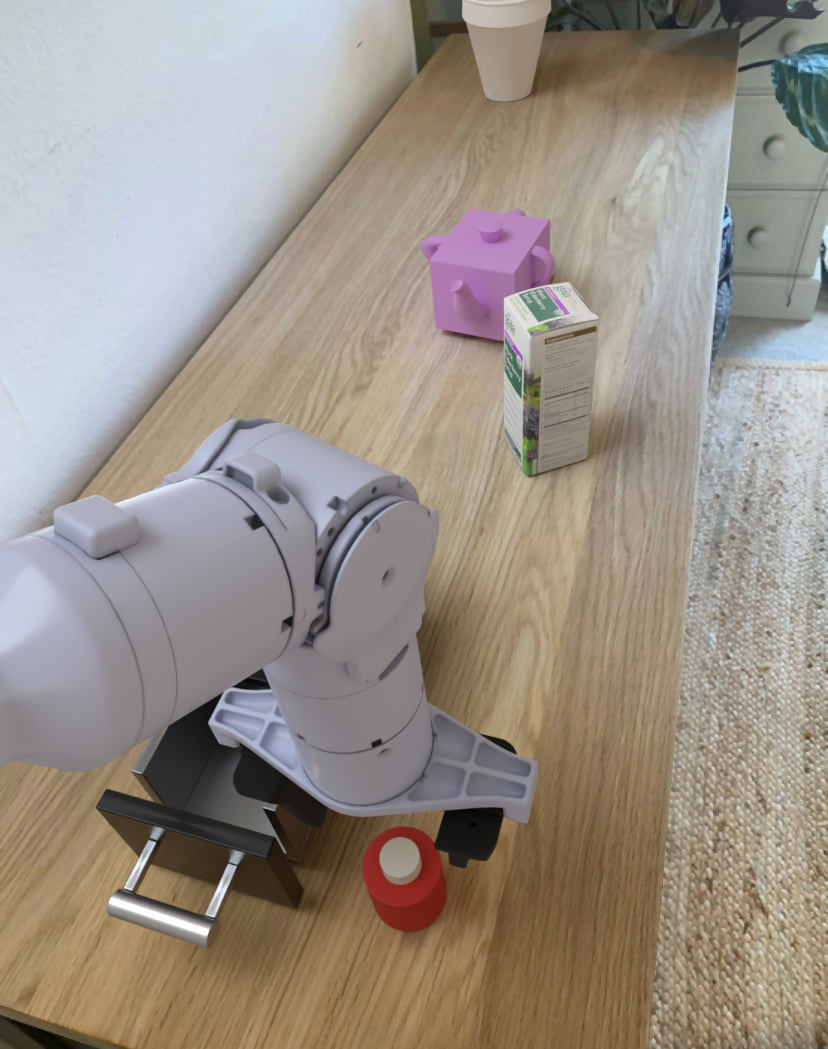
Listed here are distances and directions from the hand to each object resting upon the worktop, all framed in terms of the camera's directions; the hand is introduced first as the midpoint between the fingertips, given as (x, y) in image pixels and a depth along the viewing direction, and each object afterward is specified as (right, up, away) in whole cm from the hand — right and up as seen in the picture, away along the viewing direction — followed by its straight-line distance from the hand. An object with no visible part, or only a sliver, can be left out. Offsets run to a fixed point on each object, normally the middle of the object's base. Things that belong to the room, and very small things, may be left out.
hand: (391, 828), depth 43 cm
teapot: (+9, +37, +45) cm, 59 cm away
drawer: (-9, -3, +10) cm, 14 cm away
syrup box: (+13, +22, +31) cm, 40 cm away
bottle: (+1, -6, +7) cm, 9 cm away
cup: (+15, +79, +83) cm, 115 cm away
